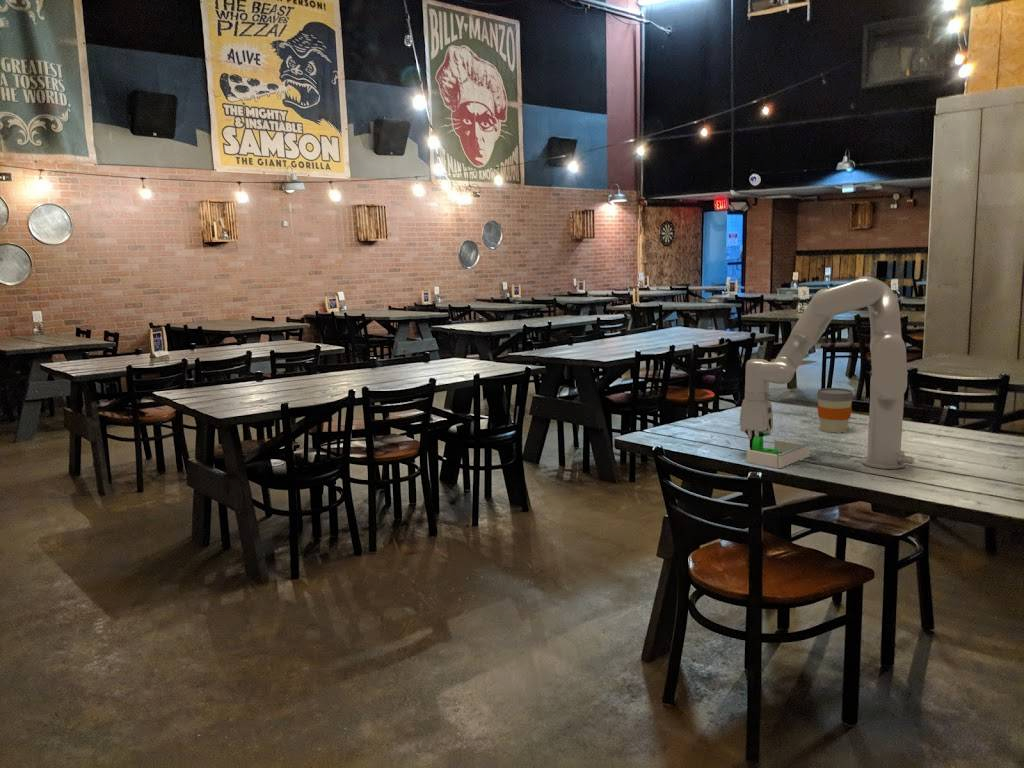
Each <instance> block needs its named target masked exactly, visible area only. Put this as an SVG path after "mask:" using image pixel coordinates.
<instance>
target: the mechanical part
mask: <svg viewBox="0 0 1024 768" xmlns="http://www.w3.org/2000/svg"><path fill="white" fill-rule="evenodd" d="M763 437H764V436H763ZM763 437H761V436H755V437H754V439H753V443H752V450H753V451H759V452H764V453H770V454H776V455H778V454H780V452H779V451H778V450H776V449H774V448H770V447H764V438H763Z"/></svg>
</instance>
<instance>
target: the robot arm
mask: <svg viewBox="0 0 1024 768" xmlns="http://www.w3.org/2000/svg"><path fill="white" fill-rule="evenodd" d="M862 308H867V309H868V312H869V313H868V314H869V324H870V344H869V351H870V358H871V359H870V361H871V362H870V363H871V375H870V379H869V380H870V384H869V386H870V387H869V391H870V392H869V394H870V395H869V411H868V412H869V413H868V414H869V415H868V416H869V417H868V434H867V450H866V451H867V453H866V456H863V457H862V458H861V463H862V465H865V466H867V467H871V468H875V469H884V470H885V469H886V470H897V469H903V468H905V467H906V465H907V464H908V465H914V463H915V458H914V457H913V456H909V455H905V451H904V450H902V434H903V419H904V418H903V417H904V401H905V400H904V399H905V393H906V391H907V388H908V364H907V362H908V361H907V349H906V344H905V341H904V339H903V337H902V324H901V323H902V321H901V314H900V313H901V312H900V311H901V310H900V304H899V301H898V299H897V296H896V294H895V293H894V291H893V290H892V288H891V287H890V286H888V284H886V283H885V282H884V281H882V280H880V279H878V278H876V277H875V278H874V277H873V276H866V275H862V276H860V277H857V278H856V279H855V280H853V281H850V282H846V283H844V284H842V285H841V284H840V285H837V286H833V287H828V288H827V287H826V288H821V289H819V290H817V291H816V293H814V295H813V296H812V298H811V300H810V301H809V303H808V304H807V306H806V308H805V310H804V311H803V312H802V313H801V316H800V317H799V319H798V320H797V322H796V323H795V325H794V326H793V328H792V330H791V332H790V333H789V334H790V335H789V336H788V338H787V340H786V341H785V343H784V345H783V346H782V348H781V350H780V351H779V353H777V356H776V358H775V359H774V361H768V360H767V359H762V358H753V359H748V360H747V361H746V363H745V379H744V380H745V382H744V383H745V384H744V399H742V403H741V406H740V414H739V427H740V428H739V430H740V432H743V433H745V435H746V436H747V438H748V439H749V450H752V443H753V439H754V437H755V436H761V437H768V436H771V434H772V433H771V432H772V431H771V430H773V427H774V414H773V412H774V411H773V405H772V402H771V401H770V400H772V399H773V395H772V394H770V383H771V384H776V385H786V384H788V383H789V382H791V381H792V379H793V378H794V375H795V372H796V371H797V370H798V368H799V366H800V364H801V362H802V361H803V359H804V358H805V357H806V355H807V354H808V352H809V351H810V350H811V349H812V348H813V347H814V346H815V345H816V344H817V343H818V341H819V339H821V337H822V335H823V334H824V333H825V331H826V329H827V327H828V326H829V325H830V323H831V321H833V320H832V319H833V318H834V317H835V316H839V315H841V314H846V313H849V312H852V311H855V310H859V309H862Z"/></svg>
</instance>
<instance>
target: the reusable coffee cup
mask: <svg viewBox="0 0 1024 768" xmlns="http://www.w3.org/2000/svg"><path fill="white" fill-rule="evenodd" d="M853 392H854V391H853V390H851V389H846V388H840V387H839V388H838V387H837V388H836V387H826V388H825V387H824V388H820V389H817V394H816V398H817V403H818V404H817V406H816V407H817V416H818V418H819V426H820V430H821V431H822V432H824V431H825V433H830V432H843V433H846V432H847V428H848V424H849V420H850V418H851V415H852V409H853V406H852V402H853V400H854V393H853ZM845 431H846V432H845Z"/></svg>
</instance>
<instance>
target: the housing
mask: <svg viewBox="0 0 1024 768" xmlns="http://www.w3.org/2000/svg"><path fill="white" fill-rule="evenodd" d="M810 445H811V444H810V443H807V442H806V443H801V442H794V441H787V440H783V439H774V448H773V449H776V450H778V451H779V454H778V455H776V454H770V453H764V452H759V451H753V450H750V449H747V450H746V464H747V463H749V464H754V465H759V466H763V467H768V468H773V467H775V468H774V469H778V468H781V469H783V468H782V467H784V466H786V465H788V464H791V463H793V462H796V461H798V460H800V461H802V460H801V459H803V460H804V458H805V459H807V458H810V451H811V450H810V449H811V448H810V447H811V446H810ZM780 452H783V453H780ZM806 457H807V458H806ZM798 462H799V461H798ZM796 463H797V462H796ZM793 464H794V463H793ZM791 465H792V464H791ZM788 466H789V465H788ZM786 467H787V466H786ZM784 468H785V467H784Z"/></svg>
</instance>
